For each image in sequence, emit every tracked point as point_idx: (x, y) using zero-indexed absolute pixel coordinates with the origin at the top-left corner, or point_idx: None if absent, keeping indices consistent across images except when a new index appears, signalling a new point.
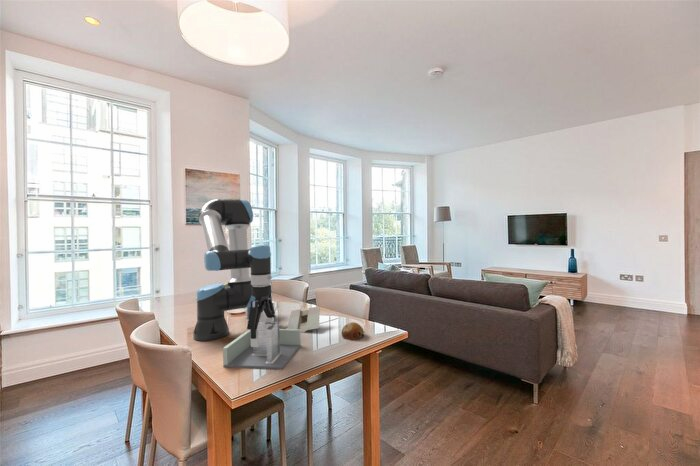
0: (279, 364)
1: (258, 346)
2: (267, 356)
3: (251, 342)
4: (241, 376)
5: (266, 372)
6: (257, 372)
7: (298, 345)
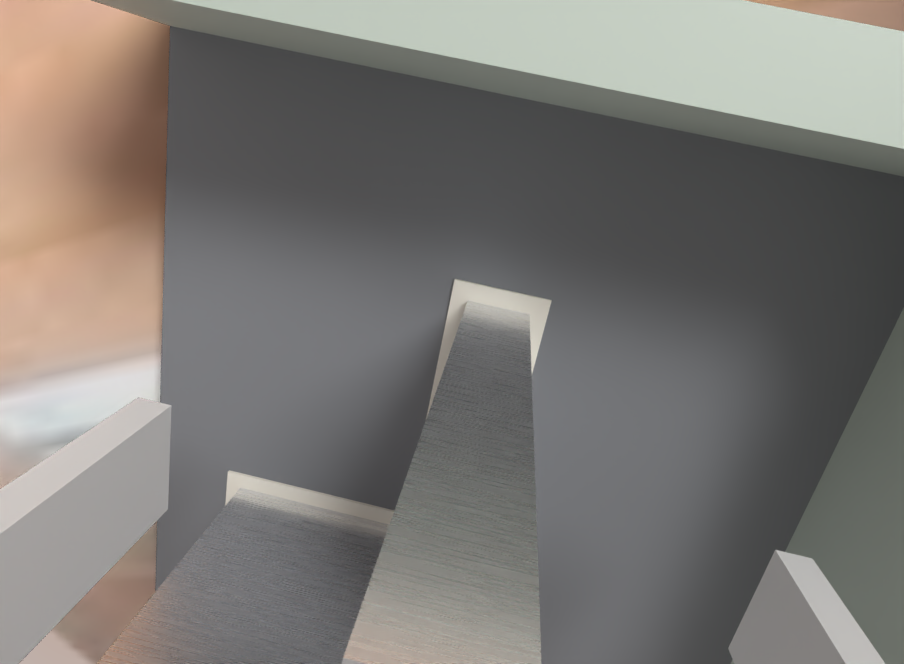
0: None
1: (155, 508)
2: (208, 532)
3: (81, 448)
4: (2, 277)
5: None
6: (96, 409)
7: None
